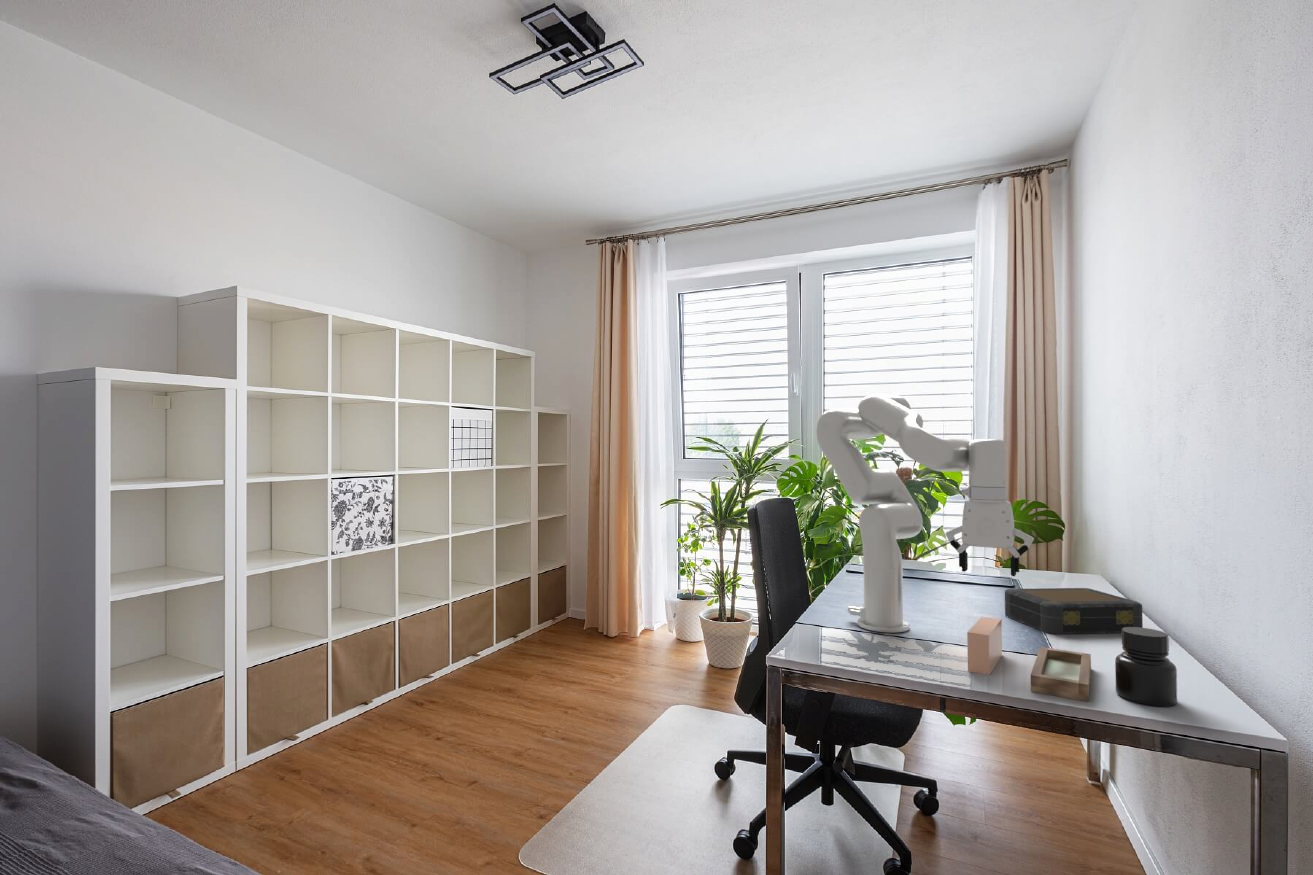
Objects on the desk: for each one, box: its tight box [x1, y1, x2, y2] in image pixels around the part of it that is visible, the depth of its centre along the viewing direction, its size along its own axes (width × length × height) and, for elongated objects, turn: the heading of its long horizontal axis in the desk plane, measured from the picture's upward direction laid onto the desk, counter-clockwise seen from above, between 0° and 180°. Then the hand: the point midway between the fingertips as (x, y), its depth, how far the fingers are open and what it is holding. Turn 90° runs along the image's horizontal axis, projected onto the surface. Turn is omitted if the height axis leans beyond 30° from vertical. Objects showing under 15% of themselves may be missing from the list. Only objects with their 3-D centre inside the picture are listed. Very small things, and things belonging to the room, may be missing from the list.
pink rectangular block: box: [966, 616, 1003, 675], centre depth 138 cm, size 4×16×8 cm, turn 144°
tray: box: [1030, 646, 1092, 703], centre depth 127 cm, size 9×22×3 cm, turn 145°
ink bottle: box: [1114, 627, 1178, 707], centre depth 118 cm, size 10×9×12 cm
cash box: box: [1004, 587, 1144, 635], centre depth 171 cm, size 25×20×8 cm
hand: (988, 572), depth 143 cm, fingers open, 9 cm apart
